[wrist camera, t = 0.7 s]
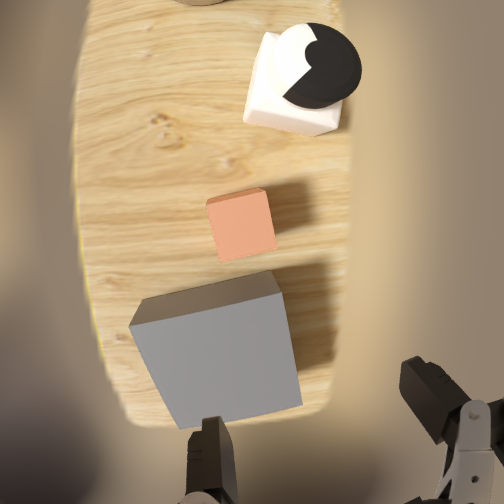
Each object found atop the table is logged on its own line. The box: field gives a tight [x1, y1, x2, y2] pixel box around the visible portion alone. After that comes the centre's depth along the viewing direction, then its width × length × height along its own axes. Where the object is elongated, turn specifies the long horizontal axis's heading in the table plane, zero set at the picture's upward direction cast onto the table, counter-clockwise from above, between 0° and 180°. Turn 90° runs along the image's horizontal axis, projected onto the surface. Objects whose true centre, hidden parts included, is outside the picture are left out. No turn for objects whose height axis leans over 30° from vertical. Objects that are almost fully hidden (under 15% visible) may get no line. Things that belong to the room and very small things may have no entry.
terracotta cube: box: [206, 188, 278, 263], centre depth 28 cm, size 5×5×5 cm
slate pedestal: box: [129, 270, 303, 429], centre depth 30 cm, size 14×14×6 cm
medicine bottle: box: [243, 23, 362, 137], centre depth 21 cm, size 7×7×12 cm
